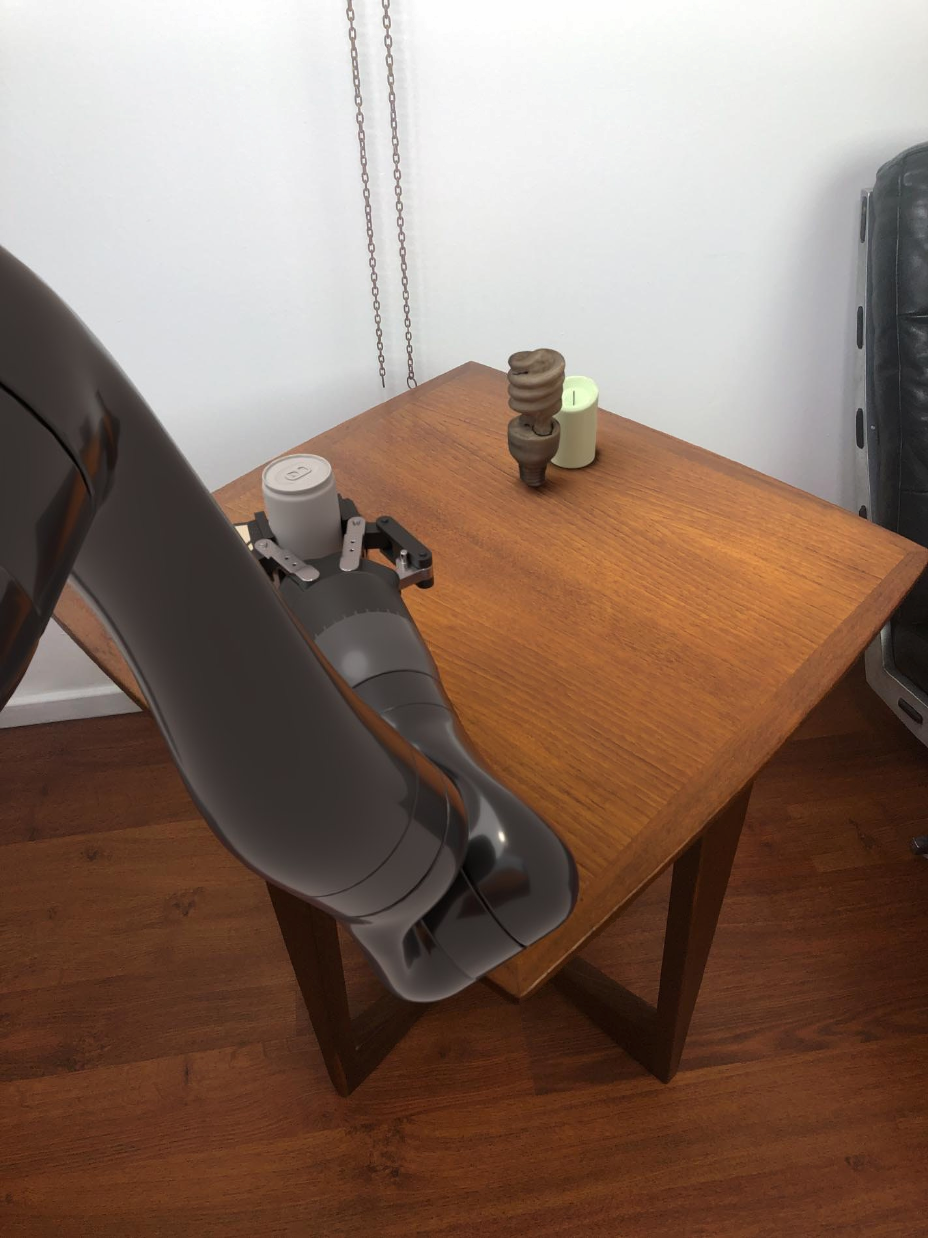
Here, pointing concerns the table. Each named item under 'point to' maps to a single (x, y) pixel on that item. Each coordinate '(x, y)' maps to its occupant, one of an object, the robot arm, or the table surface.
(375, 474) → the table surface
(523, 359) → the light bulb
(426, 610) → the table surface
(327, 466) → the beverage can
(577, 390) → the candle
